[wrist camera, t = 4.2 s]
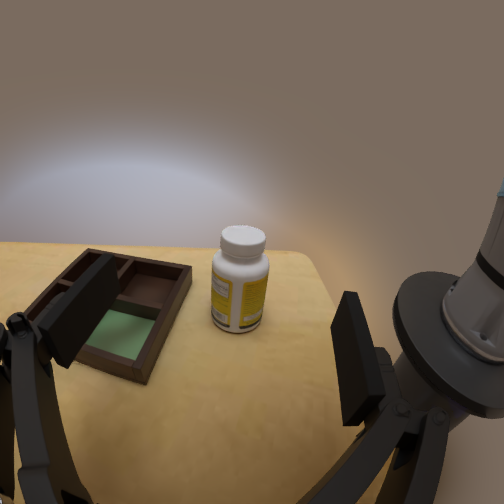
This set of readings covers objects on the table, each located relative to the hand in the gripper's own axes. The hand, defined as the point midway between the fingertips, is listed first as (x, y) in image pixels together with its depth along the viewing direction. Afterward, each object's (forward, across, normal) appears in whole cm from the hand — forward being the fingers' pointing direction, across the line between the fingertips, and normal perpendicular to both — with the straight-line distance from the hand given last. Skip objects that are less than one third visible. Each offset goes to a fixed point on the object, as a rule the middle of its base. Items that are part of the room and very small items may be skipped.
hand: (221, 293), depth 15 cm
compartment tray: (+7, -14, -11) cm, 19 cm away
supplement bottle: (+10, 0, -11) cm, 15 cm away
